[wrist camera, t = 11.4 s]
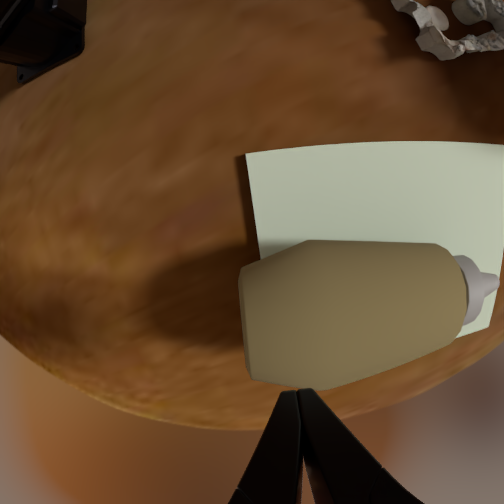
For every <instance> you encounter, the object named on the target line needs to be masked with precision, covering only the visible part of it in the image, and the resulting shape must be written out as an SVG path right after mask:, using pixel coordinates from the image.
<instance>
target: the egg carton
mask: <svg viewBox="0 0 504 504" xmlns="http://www.w3.org/2000/svg"><path fill="white" fill-rule="evenodd" d="M391 3H392V4H393V6H394V7H395V9H396V10H397V11H400V12H405V13H407V14H409V15H411V16H412V17H413V18H414V19H415V20H416V21H417V23H418V25H419V27H420V34H419V36H418V37H417V38H416V41H417V43H418V45H419V47H420V48H421V50H422V51H428V52H431V53H433V54H434V55H436V56H437V57H438V59H439V60H443V61H444V60H450V59H455V58H456V57H458V56H460V55H462V54H463V53H464V51H466V52H467V53H471V52H477V51H480V52H482V51H488V50H491V51H497V50H502V49H504V2H503V1H502V0H456V1H454V2H453V3H452V11H453V13H454V15H455V16H456V18H457V19H458V20H459V21H460V22H462V23H463V24H465V25H468V26H469V25H472V24H475V23H477V22H479V21H482V20H486V21H488V22H491V24H492V25H493V27H494V29H495V31H496V32H495V31H494V30H491V31H490V32H487V33H485V34H482V35H480V36H478V37H476V36H474V35H470V34H468V35H467V36H466V37H464V38H462V39H460V40H458V41H453V40H449V39H447V38H446V37H445V36H444V35H443V34H442V32H441V31H445V30H447V29H448V27H449V22H448V19H447V16H446V15H445V14H444V13H443V12H442V10H440V9H439V8H437V7H434V6H427V7H426V8H425V7H424V6H422V5H421V4H419V3H418V2H414V1H413V0H391Z"/></svg>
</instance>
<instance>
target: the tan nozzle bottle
mask: <svg viewBox="0 0 504 504" xmlns="http://www.w3.org/2000/svg"><path fill="white" fill-rule="evenodd" d="M499 284H500V283H499V278H498V276H497V275H496V274H491V273H484V272H480V270H479V268H478V267H477V265H476V264H475V263H474V261H473V260H472V259H470V258H468V257H467V256H465V255H457V256H452V255H451V253H450V252H449V251H448V250H447V249H445V248H444V247H442V246H440V245H438V244H436V243H412V242H381V241H345V240H306V241H304V242H301V243H299V244H297V245H294V246H292V247H289V248H287V249H285V250H282V251H280V252H277V253H275V254H273V255H270V256H268V257H265V258H263V259H261V260H258V261H256V262H253V263H251V264H249V265H246V266H244V267H241V270H240V274H239V279H238V289H239V300H240V311H241V322H242V332H243V342H244V352H245V362H246V368H247V370H248V372H249V375H250V377H251V379H252V380H257V381H262V382H267V383H273V384H278V385H284V386H290V387H297V388H303V389H304V388H312V389H313V390H318V391H321V390H328V389H332V388H335V387H338V386H342V385H345V384H348V383H351V382H354V381H358V380H361V379H364V378H367V377H369V376H372V375H375V374H378V373H381V372H384V371H386V370H389V369H392V368H394V367H397V366H400V365H402V364H405V363H407V362H410V361H412V360H415V359H417V358H419V357H422V356H424V355H426V354H429V353H431V352H433V351H436V350H438V349H440V348H442V347H444V346H447V345H449V344H451V343H452V342H453V340H454V339H455V338H456V337H457V335H458V334H459V333H460V331H461V329H462V326H464V325H467V324H469V323H471V322H473V321H475V319H476V318H477V316H478V315H479V314H480V312H481V309H482V306H483V302H484V298H485V297H487V296H488V295H489V294H491V293H492V292H494V291H495V290H496V289H498V287H499Z"/></svg>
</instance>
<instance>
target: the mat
mask: <svg viewBox="0 0 504 504" xmlns="http://www.w3.org/2000/svg"><path fill="white" fill-rule="evenodd" d="M246 160H247V167H248V174H249V181H250V188H251V195H252V202H253V208H254V215H255V222H256V229H257V236H258V244H259V251H260V258H261V259H263V258H265V257H268V256H270V255H273V254H275V253H277V252H280V251H282V250H285V249H287V248H289V247H292V246H294V245H297V244H299V243H301V242H304V241H306V240H345V241H381V242H412V243H436V244H438V245H440V246H442V247H444V248H445V249H447V250H448V251H449V252H450V253H451V255H452V256H457V255H465V256H467V257H468V258H470V259H472V260H473V261H474V263H475V264H476V265H477V267H478V268H479V270H480V272H484V273H491V274H496V275H497V276H498V278H499V276H500V270H501V263H502V256H503V249H504V145H497V144H484V143H467V142H439V141H393V142H364V143H346V144H331V145H319V146H307V147H297V148H288V149H279V150H271V151H263V152H255V153H248V154H246ZM496 292H497V289H496V290H495V291H494V292H492V293H491V294H489V295H488V296H487V297H485V298H484V302H483V306H482V309H481V312H480V314H479V315H478V316H477V318H476V319H475V321H473V322H471V323H469V324H467V325H464V326H462V329H461V331H460V333H459V334H458V335H457V337H460V336H464V335H467V334H470V333H472V332H475V331H478V330H481V329H484V328H487V327H488V326H489V323H490V319H491V315H492V311H493V306H494V302H495V297H496ZM457 337H456V338H457Z"/></svg>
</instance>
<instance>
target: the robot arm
mask: <svg viewBox="0 0 504 504" xmlns="http://www.w3.org/2000/svg"><path fill="white" fill-rule="evenodd" d="M86 9H87V0H0V62H1V63H6V64H11V65H15V66H17V82H18V83H22V84H23V83H25V82H27V81H29V80H30V79H32V78H34V77H36V76H37V75H39V74H41V73H43V72H45V71H46V70H48V69H50V68H52V67H54V66H56V65H58V64H60V63H62V62H64V61H66V60H68V59H70V58H72V57H74V56H76V55H79V54H80V53H81V52H82V51H83V50H84V46H85V42H84V30H85V24H86ZM78 46H79V48H78V49H77V50H76V48H77V47H78ZM22 78H23V79H22ZM303 458H304V463H305V467H306V471H307V475H308V479H309V483H310V486H311V490H312V494H313V498H314V502H315V504H424V503H423V502H421V501H420V500H419V499H417V498H416V497H415V496H414V495H412V494H411V493H410V492H409V491H407V490H406V489H405V488H404V487H403V486H402V485H401V484H400V483H399V482H397V480H396V479H394V478H393V477H392V476H391V474H390V473H389V472H388V471H387V470H386V469H385V468H382V465H381V464H380V463H379V462H378V461H377V460H376V459H375V458H374V457H373V456H372V455H371V453H370V452H369V451H368V450H367V449H366V448H365V447H364V446H363V445H362V444H361V443H360V441H359V440H358V439H357V438H356V437H355V436H354V435H353V434H352V433H351V431H350V430H349V429H348V428H347V427H346V426H345V425H344V424H343V423H342V422H341V420H340V419H339V418H338V417H337V416H336V415H335V414H334V412H333V411H332V410H331V409H330V408H329V407H328V406H327V405H326V403H325V402H324V401H323V400H322V399H321V398H320V396H319V395H318V394H317V393H316V392H315V391H314V390H313V389H312V388H304V389H298V390H297V392H296V390H289V391H282V392H281V393H280V395H279V398H278V400H277V402H276V405H275V407H274V409H273V412H272V414H271V416H270V418H269V421H268V423H267V425H266V427H265V430H264V432H263V434H262V436H261V438H260V441H259V443H258V445H257V447H256V449H255V451H254V453H253V456H252V457H251V460H250V462H249V464H248V466H247V468H246V470H245V472H244V474H243V476H242V478H241V480H240V482H239V484H238V486H237V488H238V489H235V491H234V493H233V495H232V497H231V499H230V501H229V502H228V504H301V498H302V480H303V479H302V478H303Z"/></svg>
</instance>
